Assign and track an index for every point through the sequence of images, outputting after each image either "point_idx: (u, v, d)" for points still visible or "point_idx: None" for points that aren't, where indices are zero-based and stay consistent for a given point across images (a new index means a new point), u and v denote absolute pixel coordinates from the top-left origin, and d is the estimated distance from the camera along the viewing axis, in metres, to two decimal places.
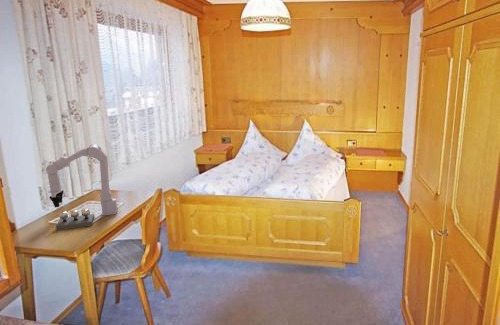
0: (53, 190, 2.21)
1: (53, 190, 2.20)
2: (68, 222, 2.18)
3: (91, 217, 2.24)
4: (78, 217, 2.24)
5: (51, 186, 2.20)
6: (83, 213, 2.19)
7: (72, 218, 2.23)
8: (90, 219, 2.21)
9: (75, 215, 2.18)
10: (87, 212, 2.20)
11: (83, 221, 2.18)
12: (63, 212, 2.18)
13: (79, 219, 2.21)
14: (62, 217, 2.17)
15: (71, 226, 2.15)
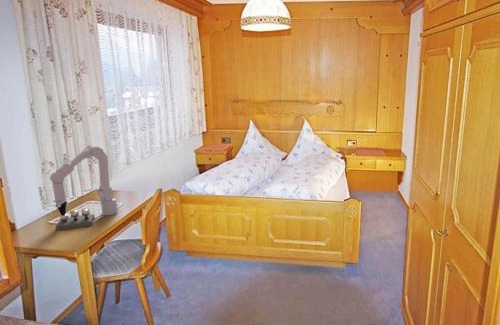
0: (58, 200, 2.13)
1: (58, 199, 2.13)
2: (68, 222, 2.18)
3: (91, 217, 2.24)
4: (78, 217, 2.24)
5: (56, 195, 2.13)
6: (83, 213, 2.19)
7: (72, 218, 2.23)
8: (90, 219, 2.21)
9: (75, 215, 2.18)
10: (87, 212, 2.20)
11: (83, 221, 2.18)
12: None
13: (79, 219, 2.21)
14: (62, 219, 2.17)
15: (71, 226, 2.15)
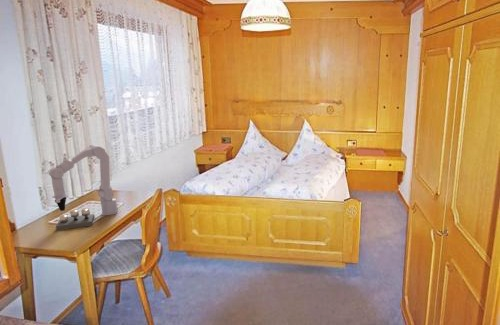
0: (57, 195, 2.13)
1: (57, 195, 2.12)
2: (68, 222, 2.18)
3: (91, 217, 2.24)
4: (78, 217, 2.24)
5: (55, 191, 2.12)
6: (83, 213, 2.19)
7: (72, 218, 2.23)
8: (90, 219, 2.21)
9: (75, 215, 2.18)
10: (87, 212, 2.20)
11: (83, 221, 2.18)
12: (64, 216, 2.19)
13: (79, 219, 2.21)
14: (63, 221, 2.17)
15: (71, 226, 2.15)
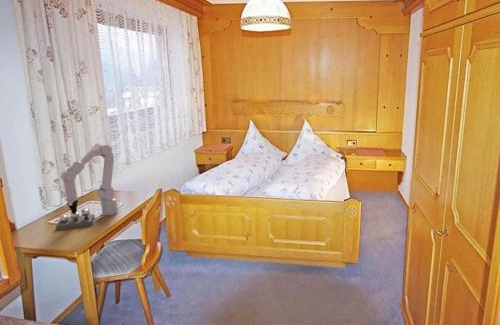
0: (69, 198, 2.15)
1: (69, 198, 2.15)
2: (68, 222, 2.18)
3: (91, 217, 2.24)
4: None
5: (67, 194, 2.14)
6: (83, 213, 2.19)
7: None
8: (90, 219, 2.21)
9: (75, 217, 2.19)
10: (87, 212, 2.20)
11: (83, 221, 2.18)
12: (64, 216, 2.19)
13: (79, 219, 2.21)
14: (63, 221, 2.17)
15: (71, 226, 2.15)
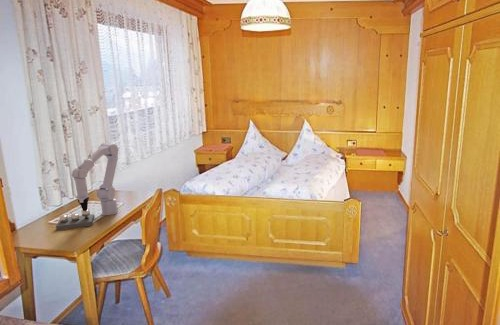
0: (80, 195, 2.16)
1: (80, 195, 2.16)
2: (68, 222, 2.18)
3: (91, 217, 2.24)
4: None
5: (78, 191, 2.15)
6: (83, 214, 2.20)
7: None
8: (90, 219, 2.21)
9: (76, 219, 2.19)
10: (87, 213, 2.20)
11: (83, 221, 2.18)
12: (64, 216, 2.19)
13: (79, 219, 2.21)
14: (63, 221, 2.17)
15: (71, 226, 2.15)
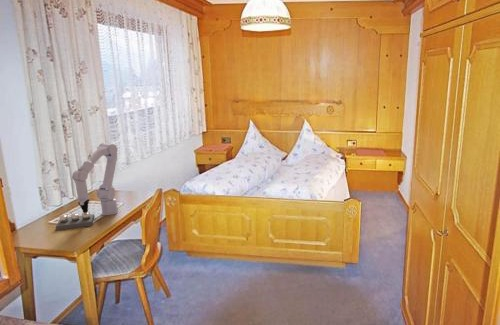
0: (81, 197, 2.16)
1: (80, 197, 2.16)
2: (68, 222, 2.18)
3: (91, 217, 2.24)
4: None
5: (79, 193, 2.16)
6: (84, 217, 2.20)
7: None
8: (90, 219, 2.21)
9: (76, 219, 2.19)
10: (88, 216, 2.21)
11: (83, 221, 2.18)
12: (64, 216, 2.19)
13: (79, 219, 2.21)
14: (63, 221, 2.17)
15: (71, 226, 2.15)
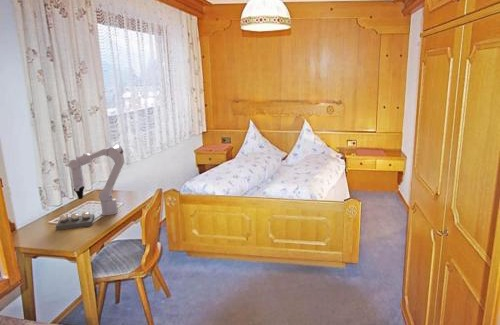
0: (76, 184, 2.28)
1: (76, 184, 2.28)
2: (68, 222, 2.18)
3: (91, 217, 2.24)
4: None
5: (74, 180, 2.28)
6: (84, 217, 2.20)
7: None
8: (90, 219, 2.21)
9: (76, 219, 2.19)
10: (88, 216, 2.21)
11: (83, 221, 2.18)
12: (64, 216, 2.19)
13: (79, 219, 2.21)
14: (63, 221, 2.17)
15: (71, 226, 2.15)
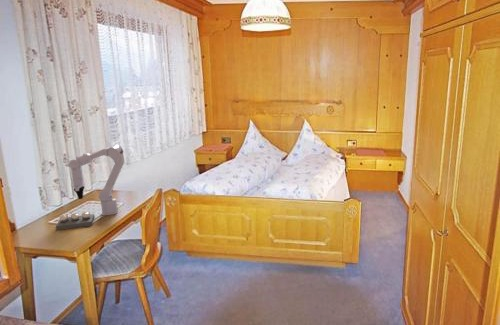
0: (76, 184, 2.28)
1: (76, 184, 2.28)
2: (68, 222, 2.18)
3: (91, 217, 2.24)
4: None
5: (74, 180, 2.28)
6: (84, 217, 2.20)
7: None
8: (90, 219, 2.21)
9: (76, 219, 2.19)
10: (88, 216, 2.21)
11: (83, 221, 2.18)
12: (64, 216, 2.19)
13: (79, 219, 2.21)
14: (63, 221, 2.17)
15: (71, 226, 2.15)
